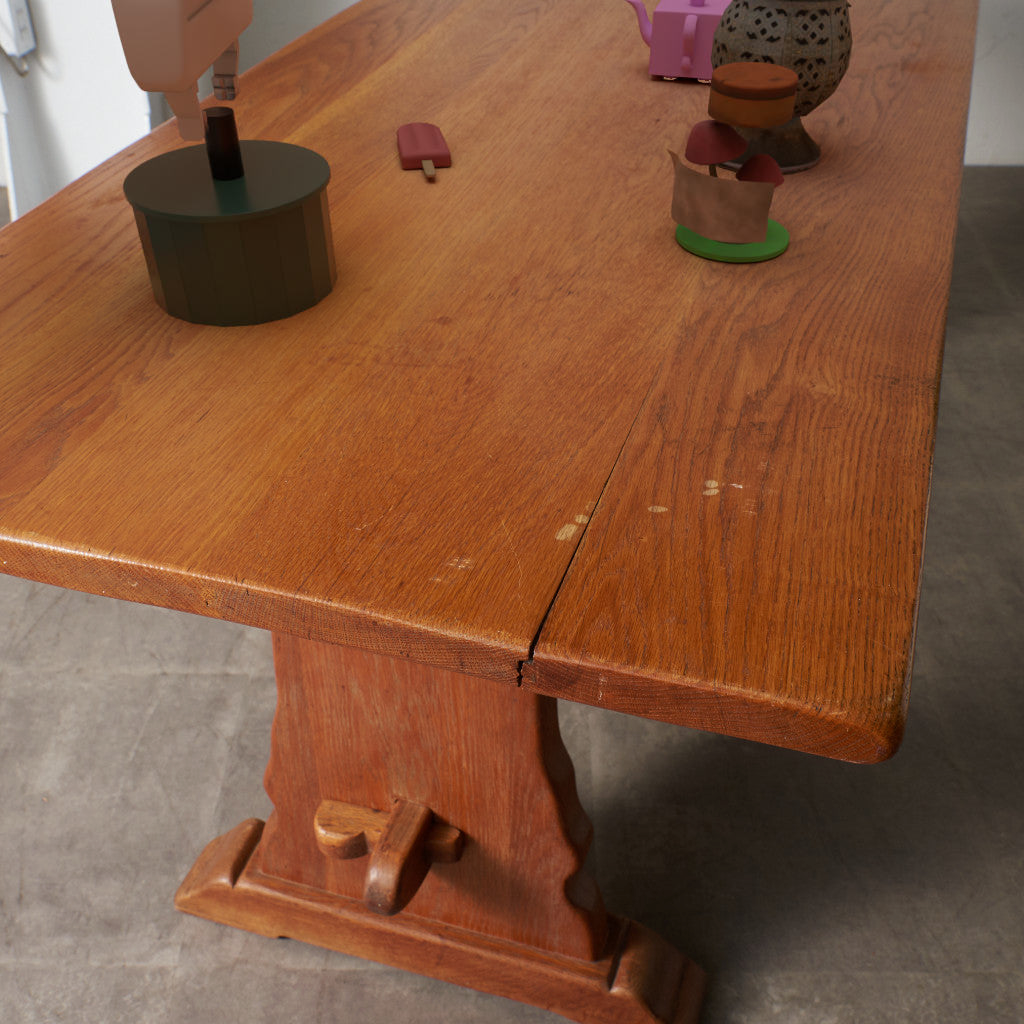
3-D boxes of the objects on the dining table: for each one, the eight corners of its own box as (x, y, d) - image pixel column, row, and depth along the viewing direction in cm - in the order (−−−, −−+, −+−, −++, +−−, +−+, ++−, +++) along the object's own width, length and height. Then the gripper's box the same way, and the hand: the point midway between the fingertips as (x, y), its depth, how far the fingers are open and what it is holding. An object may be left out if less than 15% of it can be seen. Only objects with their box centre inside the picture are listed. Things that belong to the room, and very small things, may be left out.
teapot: (609, 82, 134) (614, -1, 127) (628, 54, 144) (634, -25, 137) (746, 93, 130) (759, 8, 123) (756, 63, 140) (768, -17, 134)
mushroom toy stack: (692, 203, 102) (710, 45, 93) (811, 231, 97) (843, 67, 88) (637, 245, 95) (651, 78, 85) (764, 278, 89) (793, 104, 80)
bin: (131, 331, 82) (101, 220, 76) (186, 248, 94) (164, 147, 88) (318, 334, 82) (303, 223, 76) (350, 251, 94) (338, 149, 88)
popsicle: (405, 170, 105) (393, 123, 117) (406, 185, 106) (394, 136, 118) (456, 166, 106) (439, 120, 117) (456, 181, 107) (439, 133, 118)
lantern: (727, 123, 121) (760, -120, 105) (844, 145, 115) (897, -109, 99) (679, 159, 112) (706, -102, 96) (803, 185, 106) (854, -88, 90)
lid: (96, 229, 76) (73, 147, 72) (162, 152, 89) (146, 78, 85) (310, 232, 76) (299, 150, 72) (347, 154, 88) (339, 80, 85)
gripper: (177, -110, 78) (209, 76, 87) (79, -58, 63) (130, 162, 71) (257, -108, 78) (281, 78, 87) (179, -56, 63) (218, 165, 71)
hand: (212, 117), depth 79 cm, fingers open, 8 cm apart
